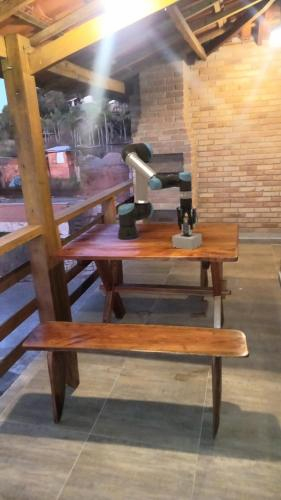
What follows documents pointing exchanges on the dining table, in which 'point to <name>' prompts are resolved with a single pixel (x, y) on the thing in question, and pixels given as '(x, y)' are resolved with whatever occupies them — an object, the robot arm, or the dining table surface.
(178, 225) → the ball valve
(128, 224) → the robot arm
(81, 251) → the dining table surface
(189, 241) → the block
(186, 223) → the steel pin
